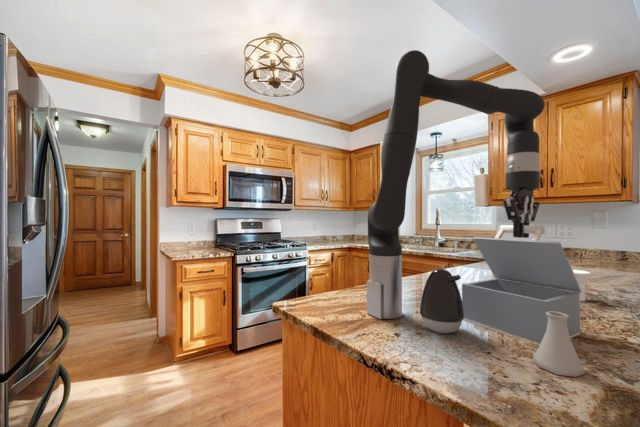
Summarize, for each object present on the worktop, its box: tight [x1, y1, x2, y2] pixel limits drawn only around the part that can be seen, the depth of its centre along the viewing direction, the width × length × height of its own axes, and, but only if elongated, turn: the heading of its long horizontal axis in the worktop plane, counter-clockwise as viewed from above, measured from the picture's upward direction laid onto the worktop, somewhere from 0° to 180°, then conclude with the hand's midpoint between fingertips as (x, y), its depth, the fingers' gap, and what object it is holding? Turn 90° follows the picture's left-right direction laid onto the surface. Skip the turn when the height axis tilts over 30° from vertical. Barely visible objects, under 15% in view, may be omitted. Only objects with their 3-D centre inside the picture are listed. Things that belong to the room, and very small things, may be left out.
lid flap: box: [472, 224, 581, 293], centre depth 79 cm, size 16×20×7 cm
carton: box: [461, 277, 581, 346], centre depth 76 cm, size 16×20×10 cm
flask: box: [532, 311, 586, 377], centre depth 55 cm, size 7×7×10 cm
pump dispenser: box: [419, 268, 464, 335], centre depth 73 cm, size 10×10×15 cm
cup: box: [565, 269, 591, 302], centre depth 102 cm, size 9×9×10 cm
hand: (521, 237), depth 77 cm, fingers closed, pressing on lid flap
